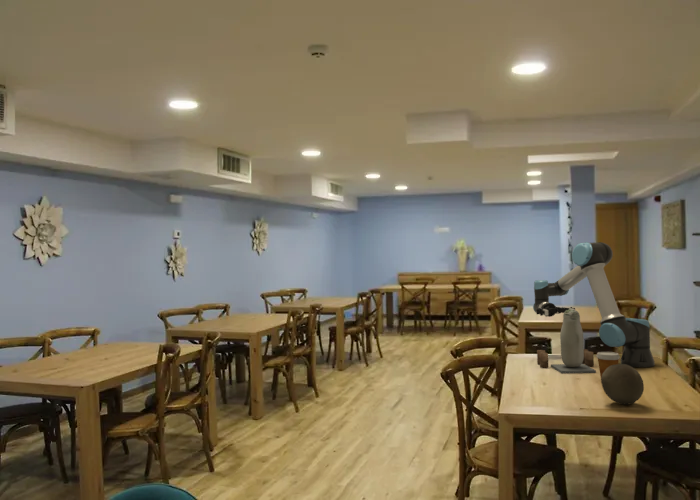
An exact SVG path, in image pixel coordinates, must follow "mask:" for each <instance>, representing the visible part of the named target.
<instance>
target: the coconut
mask: <svg viewBox="0 0 700 500" xmlns="http://www.w3.org/2000/svg"><path fill="white" fill-rule="evenodd" d="M600 381H601V382H600V383H601V387H602V389H603V391H604V394H605V395H606V396H607V397H608V398H609V399H610V400H611V401H613V402H615V403H617V404H619V405H624V406H625V405H631V404H634V403H636V402H637V401H638V400H639V399H640V398H641V397H642V395H643V394H644V389H645V384H644V380H643V377H642V376H641V374H640V373H639V371H638V370H637V369H635V367H631V366H629V365H626V364H621V363H618V364H617V365H611V366H609V367H608V368H607V369H606V370H605V371H604V372H603V374H602V377H601V376H600Z"/></svg>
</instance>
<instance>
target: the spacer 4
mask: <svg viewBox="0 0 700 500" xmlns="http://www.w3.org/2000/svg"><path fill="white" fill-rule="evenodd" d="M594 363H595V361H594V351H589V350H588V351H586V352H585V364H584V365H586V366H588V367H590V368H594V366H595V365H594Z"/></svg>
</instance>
